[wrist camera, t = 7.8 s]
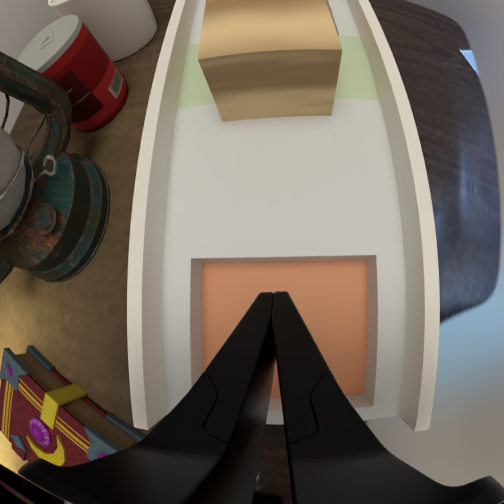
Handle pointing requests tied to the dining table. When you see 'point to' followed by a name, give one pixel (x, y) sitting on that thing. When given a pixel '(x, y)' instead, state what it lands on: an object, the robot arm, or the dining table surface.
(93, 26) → the candle holder
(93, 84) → the canned food
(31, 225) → the lantern
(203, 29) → the wooden block
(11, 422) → the decorative book
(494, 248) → the dining table surface
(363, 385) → the tray
